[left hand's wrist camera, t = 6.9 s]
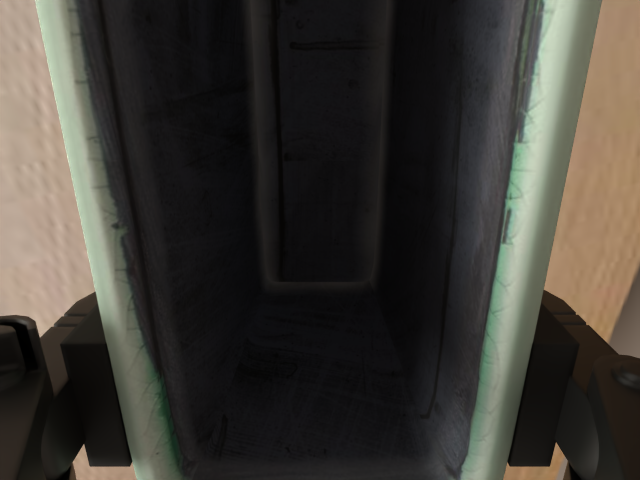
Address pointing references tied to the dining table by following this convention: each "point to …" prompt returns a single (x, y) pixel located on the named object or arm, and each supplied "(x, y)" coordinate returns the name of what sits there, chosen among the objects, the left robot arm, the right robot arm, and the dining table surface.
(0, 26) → the dining table surface
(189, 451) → the planter
